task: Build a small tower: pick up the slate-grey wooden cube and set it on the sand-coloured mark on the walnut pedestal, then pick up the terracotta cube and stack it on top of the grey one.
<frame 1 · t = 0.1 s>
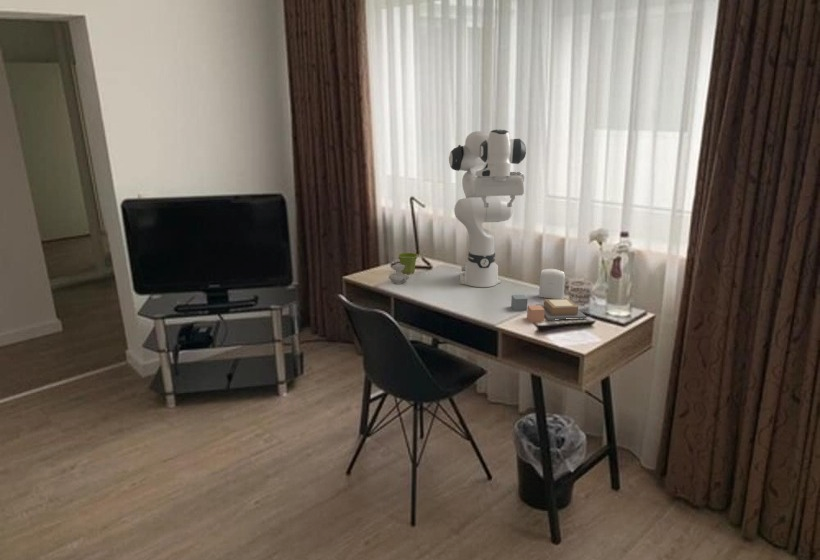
hand: (497, 207, 238), 39 cm above the table, tool pointing down, fingers open, 8 cm apart
plant pot: (407, 273, 287), on the table
build plate: (560, 313, 234), on the table
stamp: (398, 283, 271), on the table
grey cube: (518, 308, 239), on the table
photo printer: (550, 298, 252), on the table
terracotta cube: (535, 320, 227), on the table
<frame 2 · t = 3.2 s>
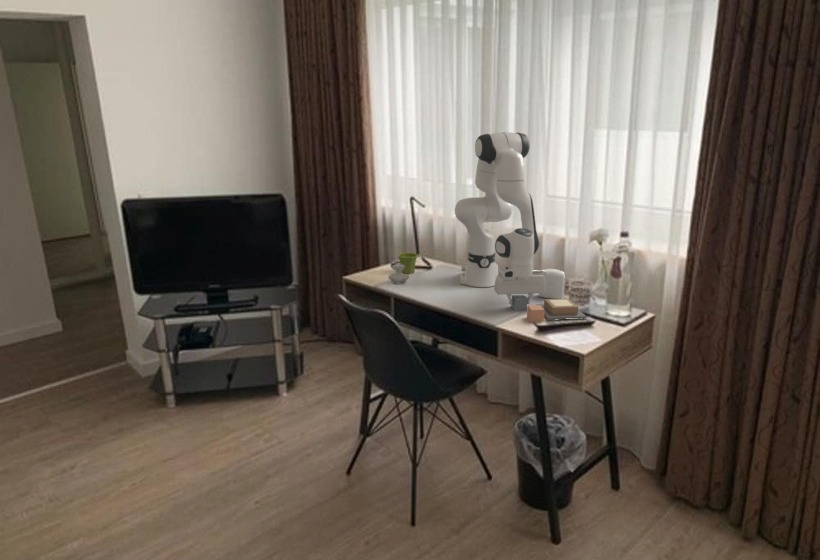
hand: (519, 303, 238), 2 cm above the table, tool pointing down, fingers closed on grey cube, 5 cm apart
grey cube: (518, 308, 239), on the table, touching gripper
everything else where it was.
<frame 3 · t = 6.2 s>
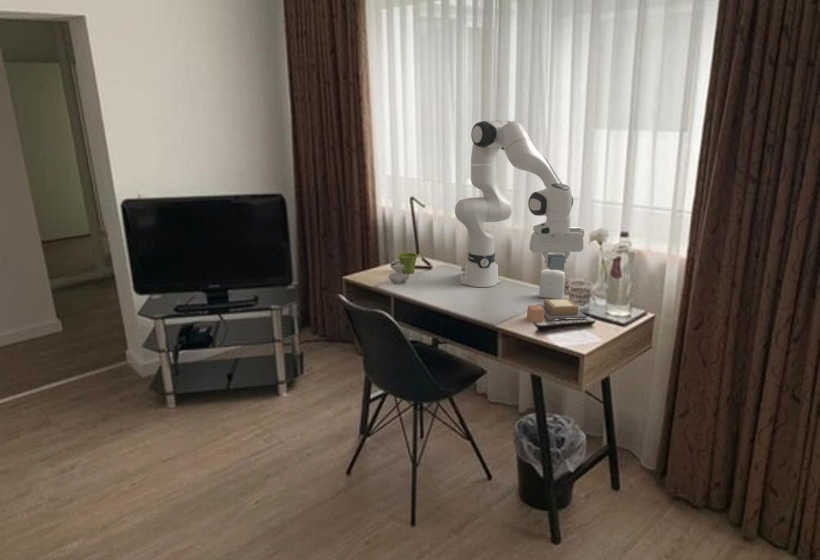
hand: (555, 263, 228), 20 cm above the table, tool pointing down, fingers closed on grey cube, 5 cm apart
grey cube: (555, 268, 229), point 18 cm above the table, touching gripper
everything else where it was.
when the fingers open (7 cm above the table, at t = 9.2 s): grey cube stays where it is, resting on build plate.
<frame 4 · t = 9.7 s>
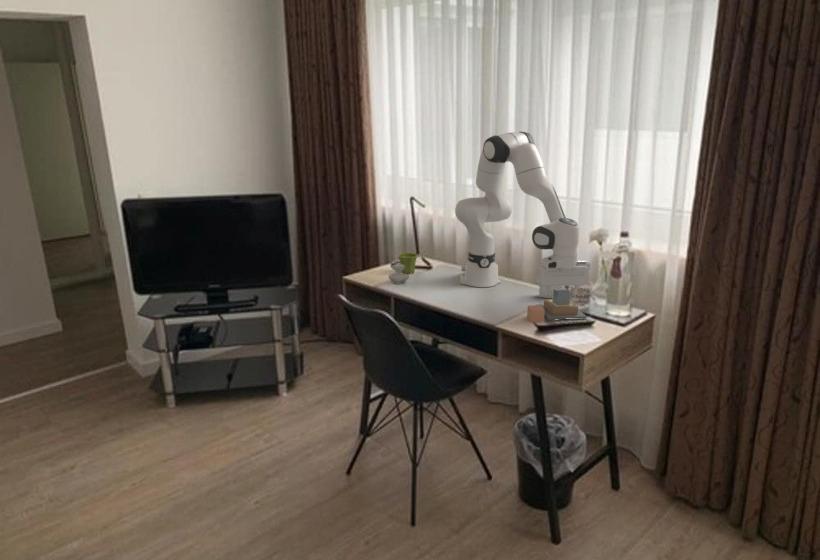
hand: (561, 295, 232), 7 cm above the table, tool pointing down, fingers open, 8 cm apart
grey cube: (560, 302, 232), point 4 cm above the table, touching build plate
everything else where it was.
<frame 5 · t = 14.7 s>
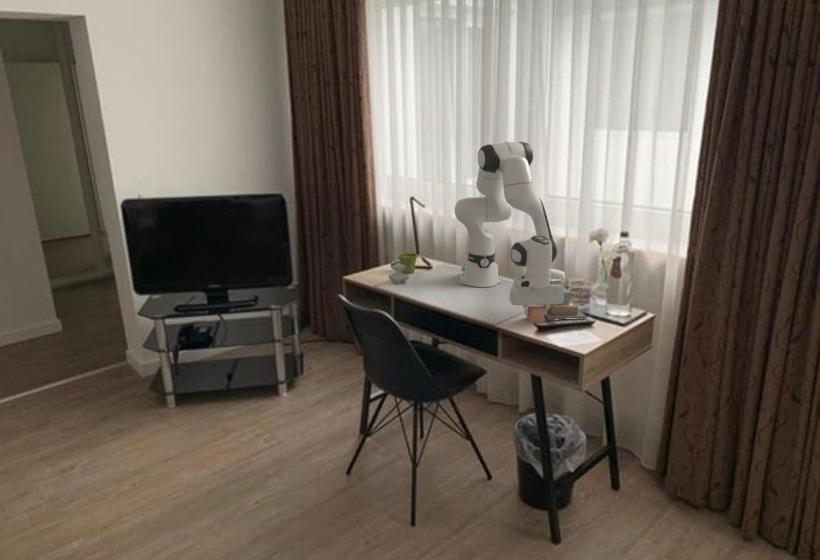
hand: (535, 314, 226), 2 cm above the table, tool pointing down, fingers closed on terracotta cube, 5 cm apart
terracotta cube: (535, 319, 227), on the table, touching gripper
everything else where it was.
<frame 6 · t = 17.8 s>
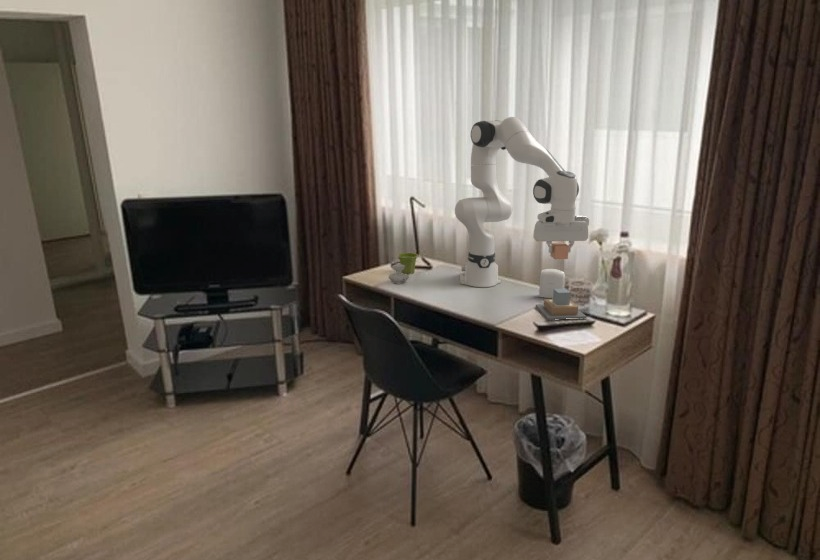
hand: (559, 252, 225), 25 cm above the table, tool pointing down, fingers closed on terracotta cube, 5 cm apart
terracotta cube: (558, 257, 225), point 23 cm above the table, touching gripper
everything else where it was.
when the fingers open (12 cm above the table, at t = 21.0 s): terracotta cube stays where it is, resting on grey cube.
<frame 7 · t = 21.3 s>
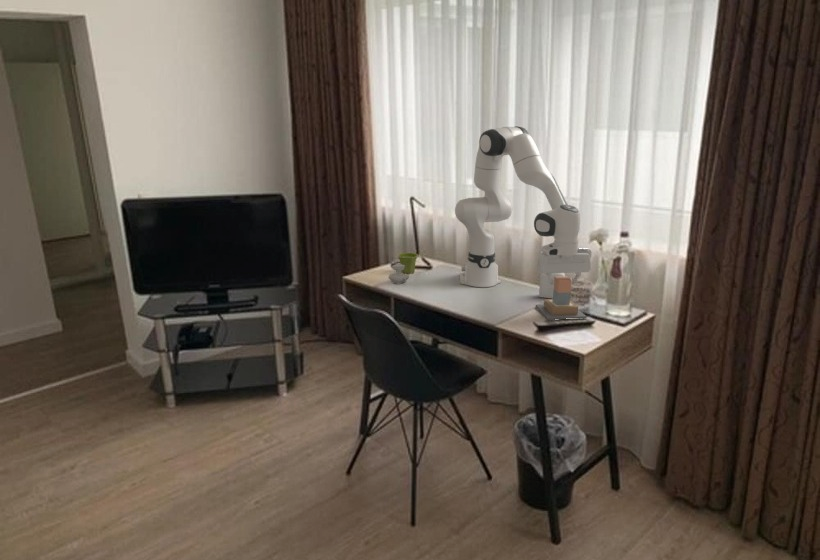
hand: (562, 283, 230), 12 cm above the table, tool pointing down, fingers open, 8 cm apart
grey cube: (560, 302, 232), point 4 cm above the table, touching build plate, terracotta cube
terracotta cube: (561, 290, 231), point 9 cm above the table, touching grey cube
everything else where it was.
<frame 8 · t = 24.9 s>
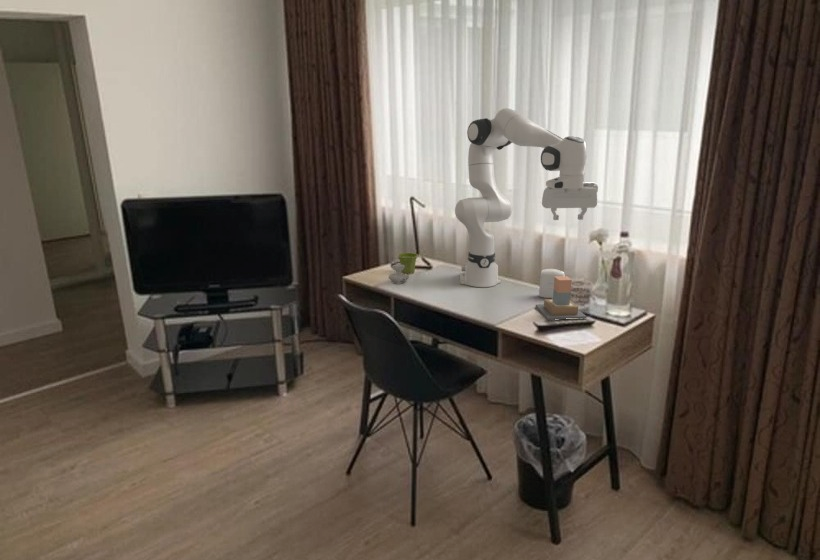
hand: (568, 219, 223), 37 cm above the table, tool pointing down, fingers open, 8 cm apart
nothing on the table moved.
at the end: grey cube 0.0 cm off-centre on the build plate, point 4.3 cm above the build plate's base; terracotta cube 0.0 cm off-centre on the grey cube, point 5.0 cm above the grey cube's base; terracotta cube tilted 0° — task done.
